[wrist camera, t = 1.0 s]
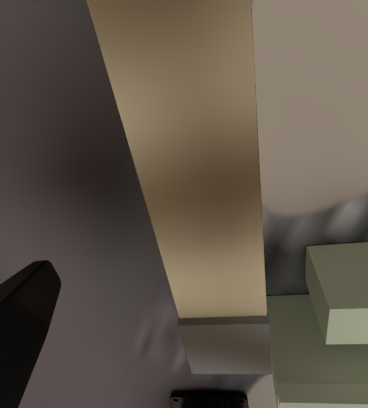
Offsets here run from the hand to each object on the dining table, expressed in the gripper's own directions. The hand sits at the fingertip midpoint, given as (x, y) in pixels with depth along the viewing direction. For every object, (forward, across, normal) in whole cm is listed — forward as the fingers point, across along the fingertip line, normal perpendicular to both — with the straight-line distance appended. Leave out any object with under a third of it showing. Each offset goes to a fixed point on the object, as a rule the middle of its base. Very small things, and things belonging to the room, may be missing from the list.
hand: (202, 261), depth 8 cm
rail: (+7, 0, -1) cm, 7 cm away
